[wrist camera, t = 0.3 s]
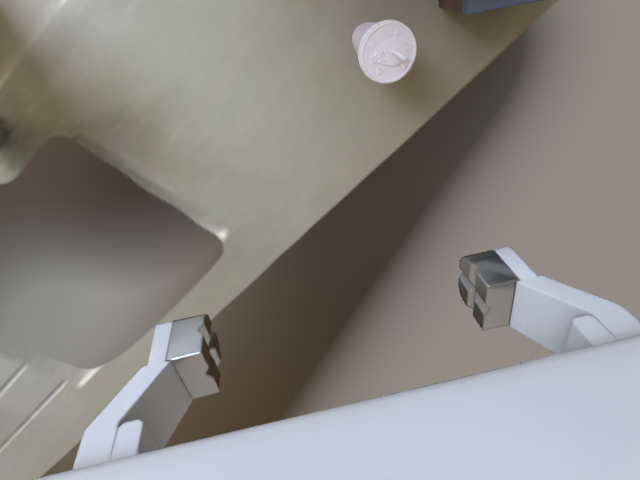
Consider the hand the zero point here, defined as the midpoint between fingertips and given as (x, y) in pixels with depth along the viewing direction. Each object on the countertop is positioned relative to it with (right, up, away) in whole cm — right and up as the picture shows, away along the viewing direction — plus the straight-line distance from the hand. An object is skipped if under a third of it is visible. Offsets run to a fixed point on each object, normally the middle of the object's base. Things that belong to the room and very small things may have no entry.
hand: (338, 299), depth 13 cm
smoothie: (+5, +28, +40) cm, 49 cm away
